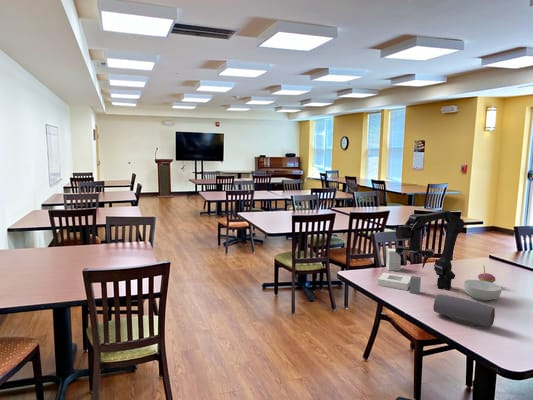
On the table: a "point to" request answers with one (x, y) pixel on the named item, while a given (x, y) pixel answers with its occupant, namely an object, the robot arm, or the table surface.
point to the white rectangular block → (393, 260)
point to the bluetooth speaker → (464, 310)
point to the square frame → (394, 281)
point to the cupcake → (486, 276)
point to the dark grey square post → (415, 284)
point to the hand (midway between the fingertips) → (413, 266)
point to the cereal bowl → (482, 289)
